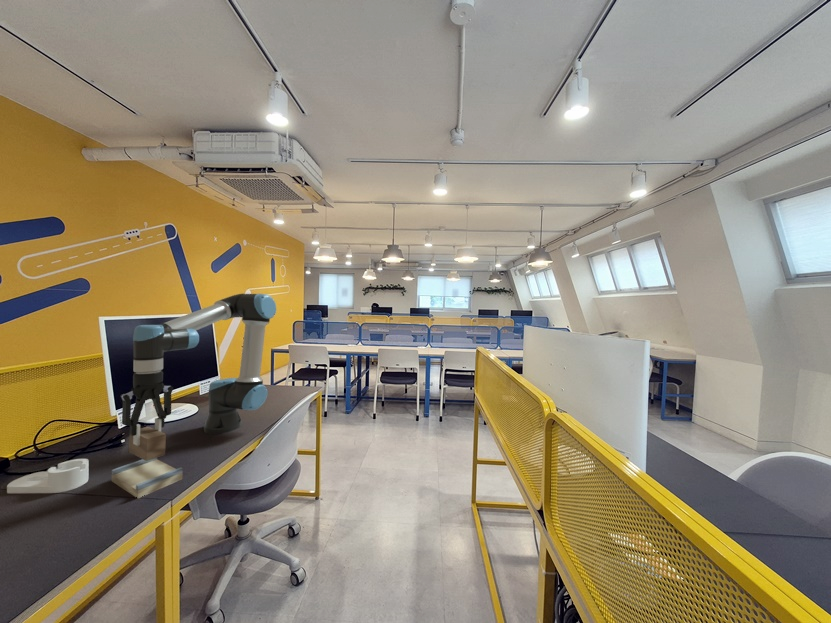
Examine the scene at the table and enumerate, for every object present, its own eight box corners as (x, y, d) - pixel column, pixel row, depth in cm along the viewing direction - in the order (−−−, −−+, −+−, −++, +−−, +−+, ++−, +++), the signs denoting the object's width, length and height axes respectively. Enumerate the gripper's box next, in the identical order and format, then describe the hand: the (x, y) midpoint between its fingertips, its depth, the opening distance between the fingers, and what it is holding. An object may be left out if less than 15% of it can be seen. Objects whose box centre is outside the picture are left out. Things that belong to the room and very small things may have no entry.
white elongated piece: (96, 478, 104) (96, 458, 104) (68, 494, 95) (68, 472, 95) (33, 478, 103) (33, 458, 103) (-1, 494, 94) (-1, 472, 94)
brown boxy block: (147, 446, 107) (148, 426, 107) (165, 454, 102) (166, 433, 102) (128, 451, 103) (129, 431, 103) (146, 461, 97) (147, 438, 98)
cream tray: (155, 465, 112) (155, 454, 112) (182, 479, 104) (182, 468, 104) (111, 481, 102) (111, 469, 102) (137, 498, 93) (137, 486, 93)
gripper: (174, 365, 112) (173, 429, 112) (106, 375, 96) (106, 449, 96) (185, 368, 108) (184, 433, 109) (117, 378, 92) (116, 454, 93)
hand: (147, 440), depth 102 cm, fingers closed on brown boxy block, 5 cm apart
